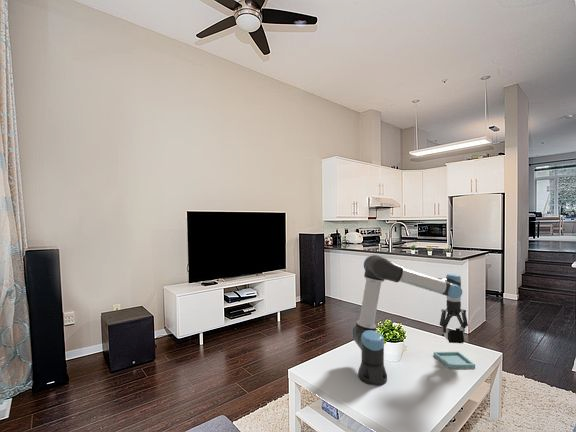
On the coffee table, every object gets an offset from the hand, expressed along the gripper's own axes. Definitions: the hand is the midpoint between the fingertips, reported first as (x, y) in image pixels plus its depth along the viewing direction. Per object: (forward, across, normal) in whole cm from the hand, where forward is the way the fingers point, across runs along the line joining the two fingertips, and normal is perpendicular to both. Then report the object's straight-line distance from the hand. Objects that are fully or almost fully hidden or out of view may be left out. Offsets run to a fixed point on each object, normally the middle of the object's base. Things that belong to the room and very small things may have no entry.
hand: (453, 337), depth 180 cm
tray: (+14, 0, 0) cm, 14 cm away
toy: (+3, 0, +1) cm, 3 cm away
